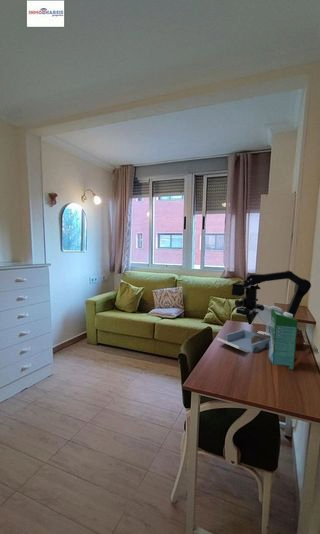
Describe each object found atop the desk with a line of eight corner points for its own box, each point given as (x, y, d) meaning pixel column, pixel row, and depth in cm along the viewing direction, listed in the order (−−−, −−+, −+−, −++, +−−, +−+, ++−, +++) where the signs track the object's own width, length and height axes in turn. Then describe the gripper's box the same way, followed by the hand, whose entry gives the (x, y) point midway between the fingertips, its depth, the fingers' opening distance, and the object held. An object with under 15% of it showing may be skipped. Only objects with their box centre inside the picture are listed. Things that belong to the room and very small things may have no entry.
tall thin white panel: (248, 350, 126) (239, 346, 121) (248, 352, 126) (238, 348, 121) (226, 341, 137) (217, 337, 132) (226, 343, 137) (216, 339, 132)
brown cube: (262, 345, 134) (263, 337, 134) (259, 348, 131) (259, 339, 131) (254, 343, 137) (255, 335, 137) (250, 345, 134) (251, 337, 134)
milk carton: (293, 369, 112) (298, 315, 110) (272, 367, 114) (276, 313, 112) (287, 360, 121) (291, 310, 119) (268, 358, 123) (271, 308, 120)
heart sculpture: (253, 332, 159) (255, 305, 157) (254, 330, 163) (256, 303, 161) (280, 337, 151) (282, 308, 149) (281, 335, 155) (283, 306, 154)
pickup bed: (271, 349, 134) (272, 339, 133) (253, 356, 124) (254, 345, 124) (241, 337, 149) (242, 328, 149) (223, 343, 140) (224, 334, 139)
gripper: (247, 292, 149) (246, 317, 151) (228, 296, 138) (227, 323, 139) (265, 295, 140) (264, 322, 142) (246, 299, 129) (244, 329, 130)
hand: (249, 324), depth 139 cm, fingers closed
